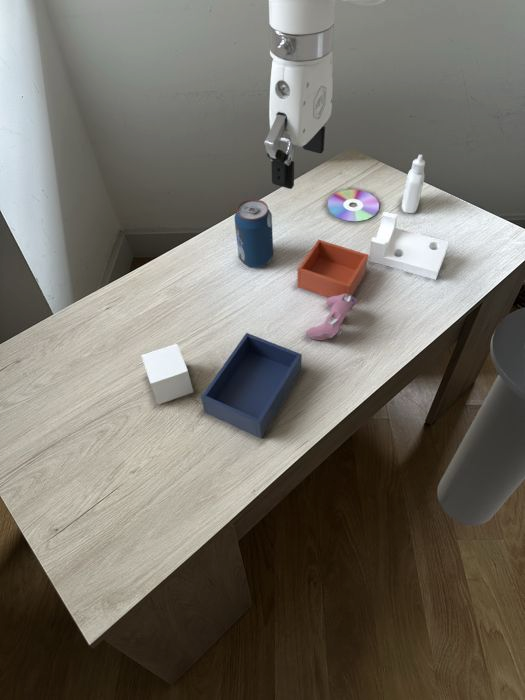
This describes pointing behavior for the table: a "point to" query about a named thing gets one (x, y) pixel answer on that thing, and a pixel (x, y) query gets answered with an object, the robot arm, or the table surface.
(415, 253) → the bracket
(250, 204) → the soda can
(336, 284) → the terracotta bin
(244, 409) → the navy bin
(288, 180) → the robot arm
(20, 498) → the table surface
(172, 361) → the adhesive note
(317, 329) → the video game controller
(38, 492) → the table surface
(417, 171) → the eye dropper bottle
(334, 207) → the cd
